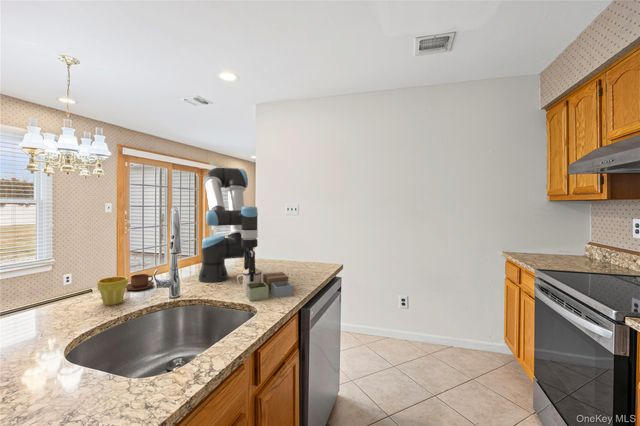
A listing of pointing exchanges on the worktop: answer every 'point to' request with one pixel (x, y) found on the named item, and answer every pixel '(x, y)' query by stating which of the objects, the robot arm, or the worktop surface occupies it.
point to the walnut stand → (274, 278)
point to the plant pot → (112, 289)
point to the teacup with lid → (245, 278)
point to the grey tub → (282, 289)
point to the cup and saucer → (140, 282)
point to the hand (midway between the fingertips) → (249, 285)
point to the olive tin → (257, 291)
